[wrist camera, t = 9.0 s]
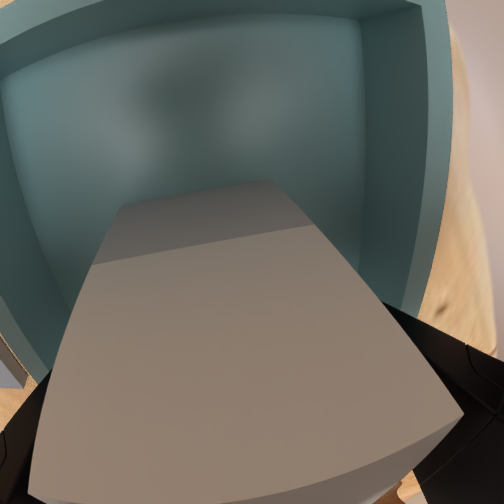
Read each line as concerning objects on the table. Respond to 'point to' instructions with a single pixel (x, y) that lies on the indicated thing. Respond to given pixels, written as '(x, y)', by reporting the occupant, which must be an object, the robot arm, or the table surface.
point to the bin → (216, 133)
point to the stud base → (10, 370)
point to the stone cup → (390, 496)
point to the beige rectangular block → (231, 366)
